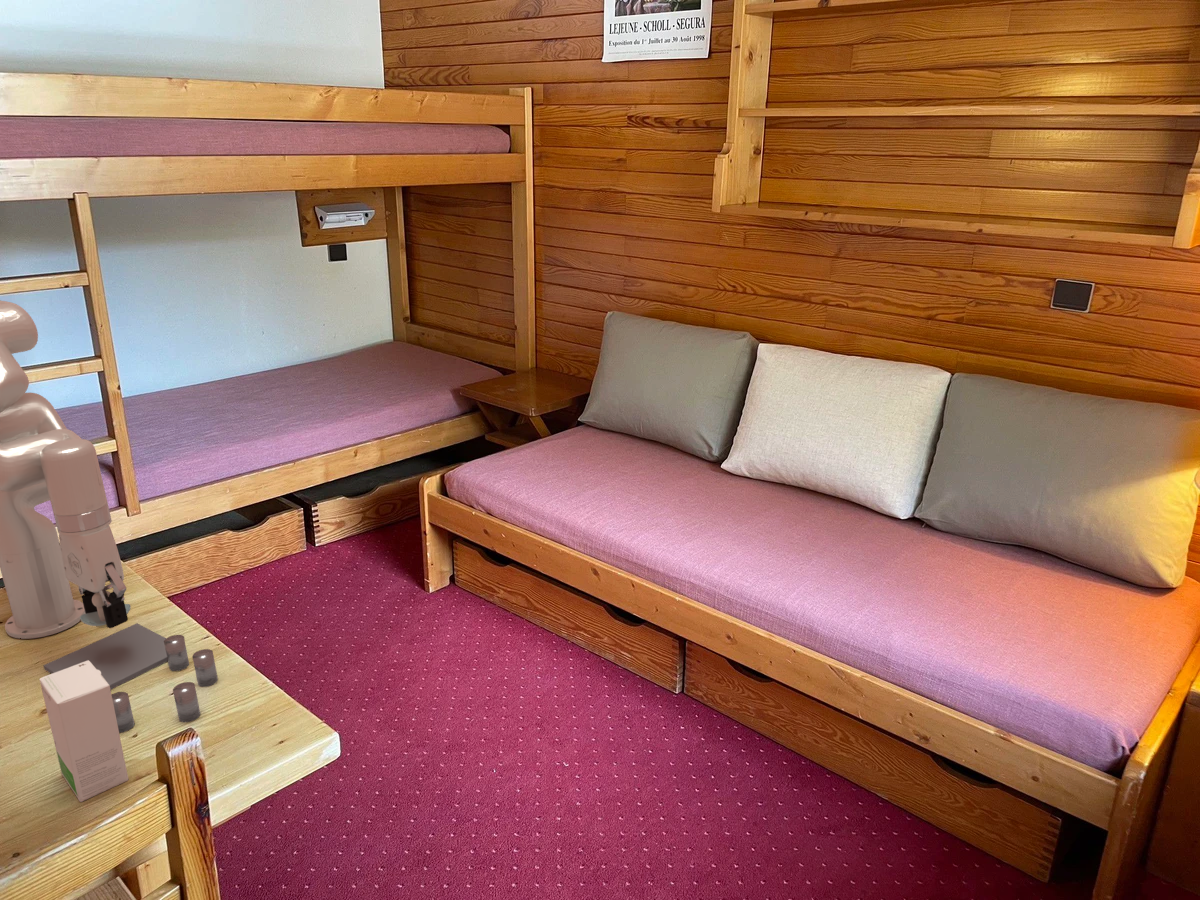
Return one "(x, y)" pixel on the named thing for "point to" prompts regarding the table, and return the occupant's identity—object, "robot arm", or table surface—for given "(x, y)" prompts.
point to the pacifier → (98, 612)
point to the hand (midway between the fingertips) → (107, 618)
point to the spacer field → (182, 692)
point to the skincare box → (84, 729)
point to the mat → (118, 655)
